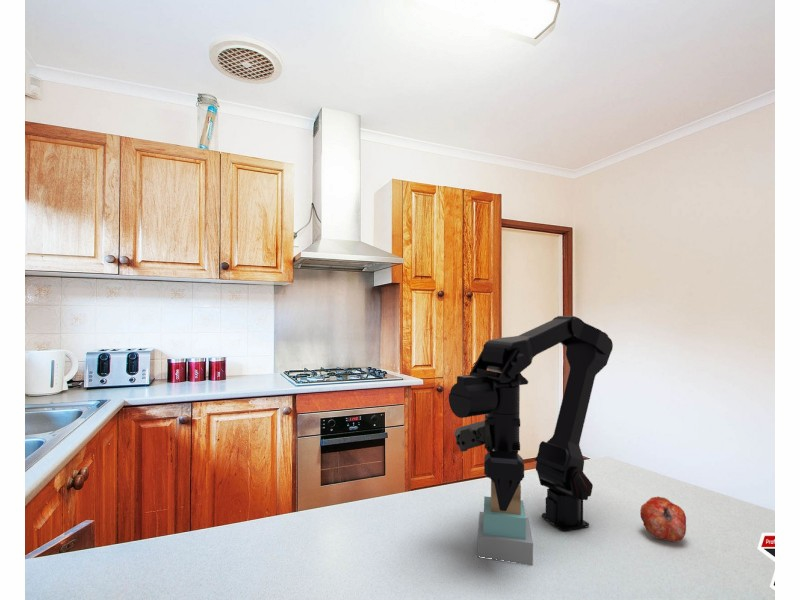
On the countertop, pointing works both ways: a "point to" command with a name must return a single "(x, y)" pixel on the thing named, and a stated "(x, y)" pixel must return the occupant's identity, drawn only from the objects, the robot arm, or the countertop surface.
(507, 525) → the teal block
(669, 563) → the countertop surface
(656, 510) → the pomegranate
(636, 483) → the countertop surface
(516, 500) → the walnut cube
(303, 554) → the countertop surface
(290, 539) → the countertop surface
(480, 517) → the slate block
